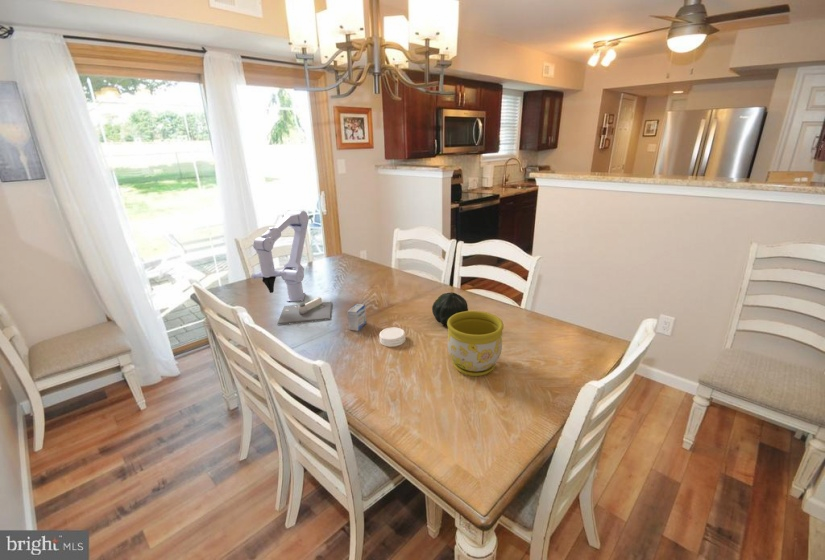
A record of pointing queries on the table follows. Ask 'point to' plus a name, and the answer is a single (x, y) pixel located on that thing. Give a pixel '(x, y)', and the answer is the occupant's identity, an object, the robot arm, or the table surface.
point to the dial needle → (309, 305)
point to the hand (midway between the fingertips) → (271, 292)
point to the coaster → (392, 337)
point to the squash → (448, 306)
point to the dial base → (314, 314)
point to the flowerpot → (474, 341)
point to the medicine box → (356, 317)
